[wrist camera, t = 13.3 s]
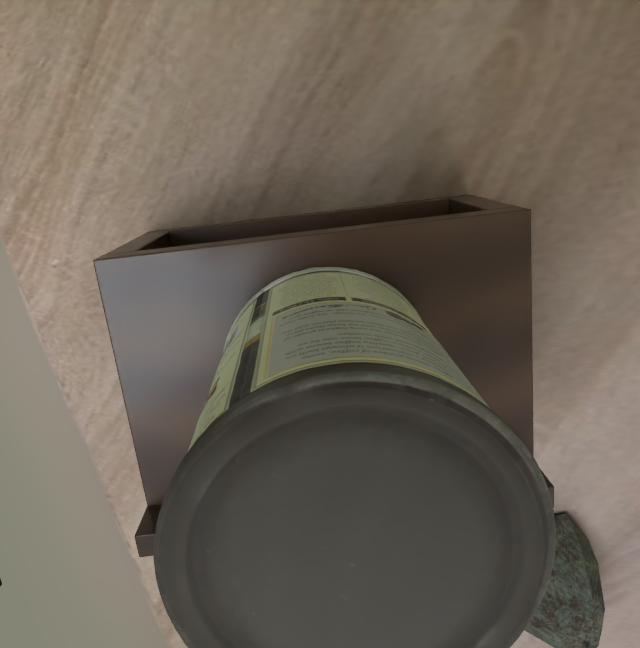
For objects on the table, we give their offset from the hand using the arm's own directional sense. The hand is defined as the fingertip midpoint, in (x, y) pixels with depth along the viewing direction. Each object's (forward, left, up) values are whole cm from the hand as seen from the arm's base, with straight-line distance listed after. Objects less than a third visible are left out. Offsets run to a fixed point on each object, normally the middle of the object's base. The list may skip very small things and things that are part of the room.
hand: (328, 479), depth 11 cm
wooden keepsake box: (+3, +4, -27) cm, 27 cm away
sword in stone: (+9, +29, -27) cm, 41 cm away
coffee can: (+3, +3, -17) cm, 18 cm away
